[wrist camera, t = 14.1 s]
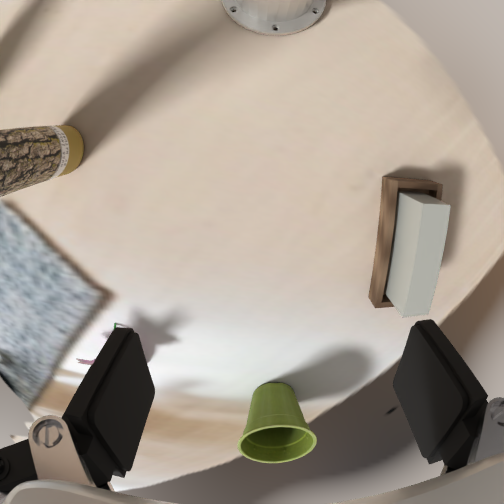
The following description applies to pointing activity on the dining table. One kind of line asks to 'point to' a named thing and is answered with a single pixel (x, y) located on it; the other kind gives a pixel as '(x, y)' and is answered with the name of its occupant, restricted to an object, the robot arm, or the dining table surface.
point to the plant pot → (275, 426)
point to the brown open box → (386, 230)
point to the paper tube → (37, 155)
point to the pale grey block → (416, 252)
